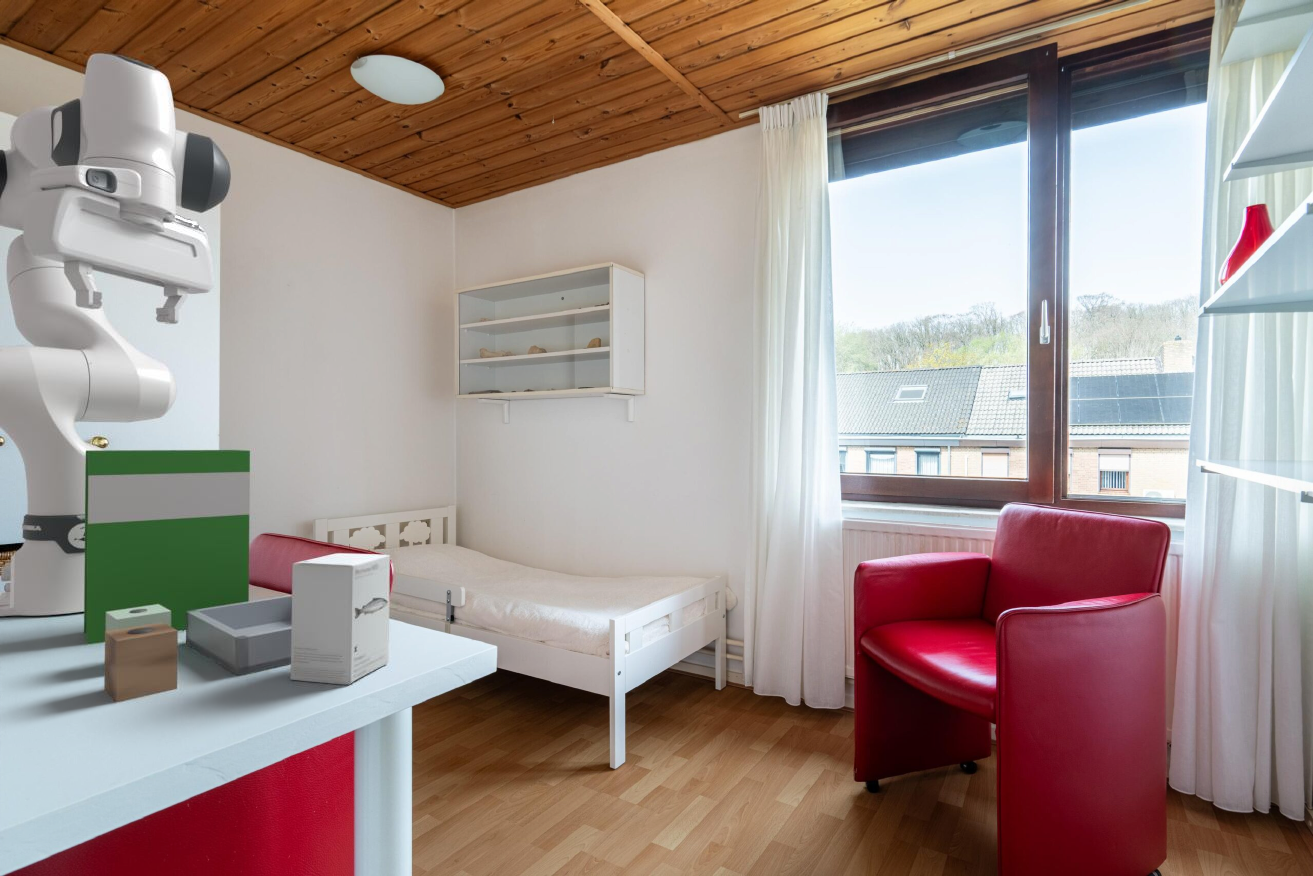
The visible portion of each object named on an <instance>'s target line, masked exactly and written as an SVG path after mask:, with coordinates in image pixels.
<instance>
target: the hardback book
mask: <svg viewBox="0 0 1313 876" xmlns="http://www.w3.org/2000/svg"><path fill="white" fill-rule="evenodd" d="M250 468H251V450H244V449H172V450H170V449H163V450H162V449H157V450H156V449H155V450H154V449H150V450H149V449H148V450H147V449H145V450H144V449H143V450H141V449H140V450H139V449H138V450H137V449H136V450H135V449H134V450H129V449H128V450H127V449H125V450H123V449H121V450H120V449H117V450H115V449H113V450H111V449H109V450H108V449H104V450H86V465H85V572H84V611H83V633H84V634H86V641H85V642H86V645H94V644H100V643H105V632H106V612H108V611H115V610H122V609H129V608H135V607H142V606H149V605H156V604H159V605H161V606H163V607H165V608H166V609H168V610H170V611H171V627H172V628H174V629H176V630H177V631H178V632H181V631H186V611H191V610H197V609H204V608H210V607H216V606H223V605H229V604H236V603H242V602H248V601H250V595H249V593H250V591H249V590H250V589H249V588H250V586H249V585H250V502H251V501H250V498H251V495H250V494H251V493H250V492H251V491H250V487H251V485H250V484H251V483H250V482H251V481H250V480H251V469H250Z"/></svg>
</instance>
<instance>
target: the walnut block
mask: <svg viewBox="0 0 1313 876" xmlns="http://www.w3.org/2000/svg"><path fill="white" fill-rule="evenodd" d="M178 633H179V631H177V630H176V629H174V628H172V627H171V626H169V625H167V624H166V623H164V622H162V623H155V624H149V625H143V626H137V627H131V628H125V629H118V630H112V631H106V632H105V642H104V681H103V682H104V685H103V686H104V687H103V688H104V691H105V693H106V694H108V696H109V697H110V698H111V699H113V700H114V702H115V703H121V702H124V701H130V700H135V699H137V698H138V699H139V698H143V697H147V696H151V695H155V694H160V693H165V692H169V691H174V690H178V643H179V642H178V640H179V639H178V637H179V635H178Z"/></svg>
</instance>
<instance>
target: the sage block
mask: <svg viewBox="0 0 1313 876" xmlns="http://www.w3.org/2000/svg"><path fill="white" fill-rule="evenodd" d="M162 622H164V623H166V624H167V625H169V626H171V611H170V610H168V609H166V608H165V607H163V606H161V605H159V604H156V605H149V606H142V607H135V608H129V609H122V610H115V611H108V612H106V631H112V630H118V629H125V628H131V627H137V626H143V625H149V624H155V623H162Z"/></svg>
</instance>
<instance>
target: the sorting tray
mask: <svg viewBox="0 0 1313 876" xmlns="http://www.w3.org/2000/svg"><path fill="white" fill-rule="evenodd" d="M291 628H292V594H287V595H282V596H275V597H267V598H263V599H255V600H249V601H248V602H242V603H236V604H229V605H223V606H216V607H210V608H204V609H197V610H191V611H186V630H185V644H186V645H187V646H189V647H191V648H193V649H195V650H196V651H198V652H199V653H201V654H203V655H204V656H206V657H207V658H208V659H210V660H212V661H214V662H215V663H216V664H219V665H220V666H221V667H223V668H225V669H226V670H229V672H231V673H233V674H234V675H236V676H239V677H240V676H244V675H248V674H252V673H256V672H260V671H265V670H270V669H275V668H278V667H282V666H287V665H291Z"/></svg>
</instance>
